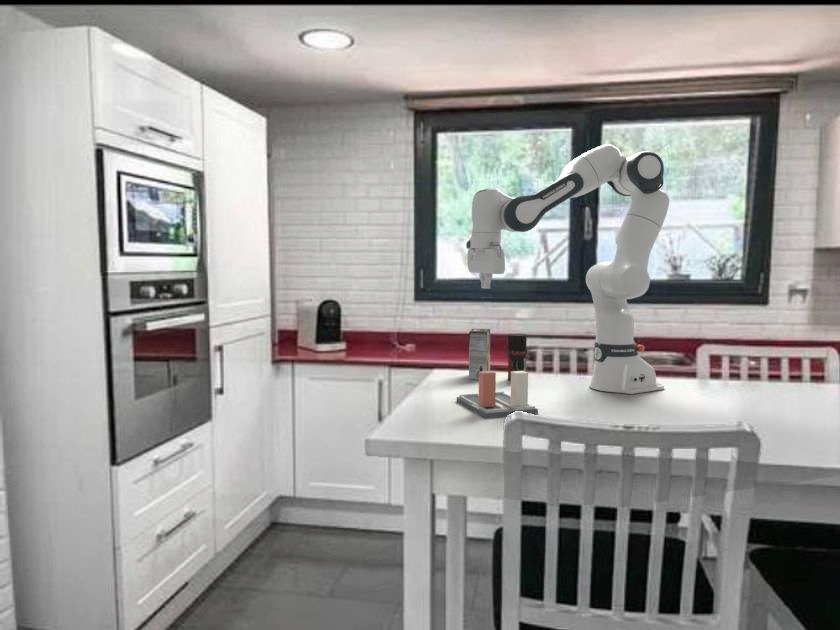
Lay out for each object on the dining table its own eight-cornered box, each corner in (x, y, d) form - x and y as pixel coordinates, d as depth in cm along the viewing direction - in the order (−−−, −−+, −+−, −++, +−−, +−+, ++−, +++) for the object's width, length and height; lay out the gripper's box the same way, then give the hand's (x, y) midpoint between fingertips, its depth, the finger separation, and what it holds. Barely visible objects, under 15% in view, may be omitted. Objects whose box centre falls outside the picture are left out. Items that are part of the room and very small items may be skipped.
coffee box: (471, 374, 222) (472, 328, 221) (490, 374, 221) (490, 328, 219) (468, 379, 213) (468, 331, 212) (487, 379, 212) (488, 331, 210)
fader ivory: (522, 403, 172) (522, 370, 171) (527, 406, 169) (528, 372, 168) (510, 404, 171) (510, 371, 170) (515, 407, 168) (516, 373, 167)
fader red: (490, 403, 172) (490, 370, 171) (495, 406, 169) (495, 372, 168) (478, 404, 171) (478, 371, 170) (483, 407, 168) (483, 373, 167)
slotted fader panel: (504, 397, 186) (504, 391, 186) (538, 413, 167) (538, 406, 167) (456, 401, 181) (456, 394, 181) (485, 418, 162) (485, 411, 162)
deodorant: (525, 381, 209) (525, 336, 208) (506, 380, 210) (507, 335, 209) (526, 378, 215) (527, 333, 213) (509, 377, 216) (509, 333, 215)
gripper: (510, 242, 185) (510, 289, 186) (482, 243, 204) (482, 286, 206) (490, 242, 183) (490, 290, 184) (464, 243, 202) (463, 286, 204)
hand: (485, 288), depth 195 cm, fingers closed
